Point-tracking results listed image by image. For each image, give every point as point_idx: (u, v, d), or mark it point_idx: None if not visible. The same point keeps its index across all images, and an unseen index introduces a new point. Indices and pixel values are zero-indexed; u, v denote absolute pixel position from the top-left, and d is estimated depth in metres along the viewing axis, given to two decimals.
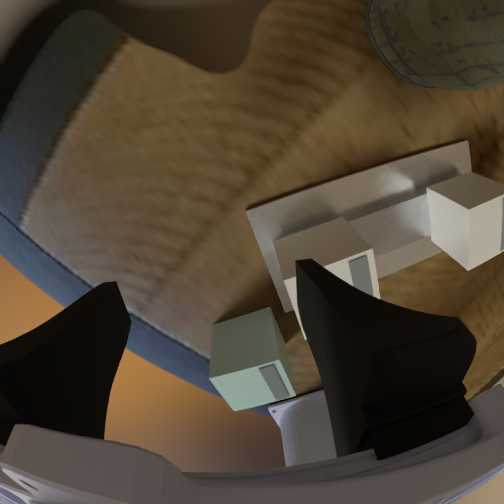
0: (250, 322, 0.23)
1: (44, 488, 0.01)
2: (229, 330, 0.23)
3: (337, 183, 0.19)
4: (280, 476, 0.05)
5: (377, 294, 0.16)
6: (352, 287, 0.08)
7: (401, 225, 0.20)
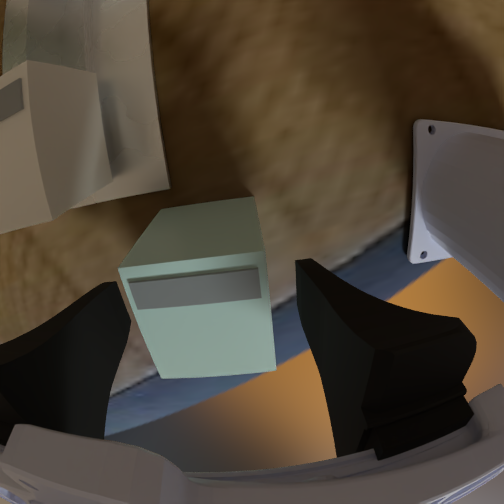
0: None
1: (44, 488, 0.01)
2: None
3: None
4: (280, 476, 0.05)
5: None
6: (352, 287, 0.08)
7: (52, 13, 0.08)
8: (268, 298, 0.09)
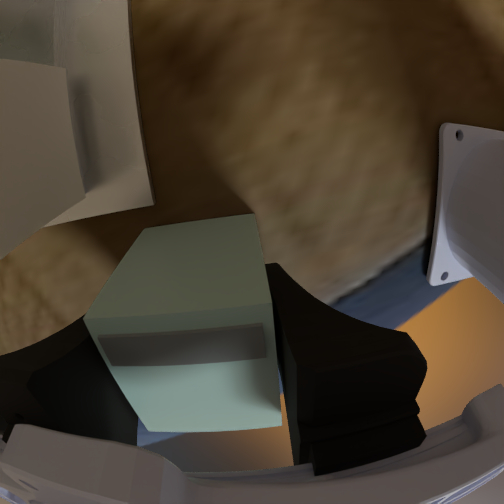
0: None
1: (44, 488, 0.01)
2: None
3: None
4: (279, 476, 0.05)
5: None
6: (307, 294, 0.08)
7: (22, 2, 0.05)
8: (275, 356, 0.07)
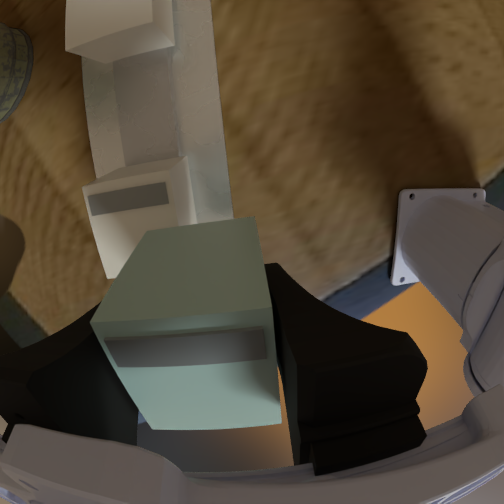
0: None
1: (44, 488, 0.01)
2: None
3: (96, 164, 0.17)
4: (280, 476, 0.05)
5: (139, 177, 0.12)
6: (307, 294, 0.08)
7: (141, 93, 0.15)
8: (274, 357, 0.07)
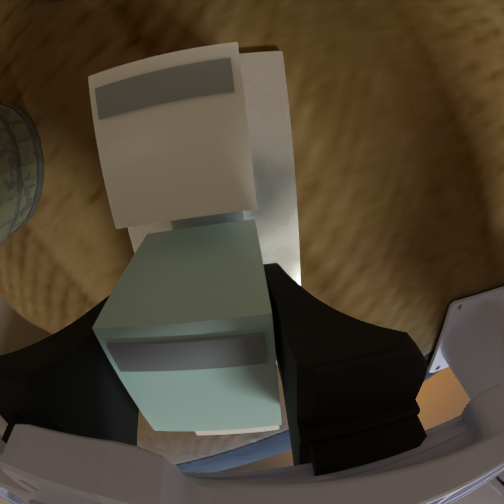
0: None
1: (44, 488, 0.01)
2: None
3: None
4: (280, 476, 0.05)
5: None
6: (307, 294, 0.08)
7: None
8: (274, 362, 0.07)
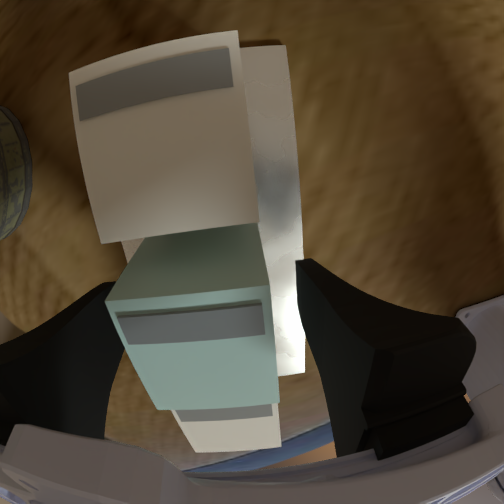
0: None
1: (44, 488, 0.01)
2: None
3: None
4: (279, 476, 0.05)
5: None
6: (352, 287, 0.08)
7: None
8: (272, 334, 0.08)
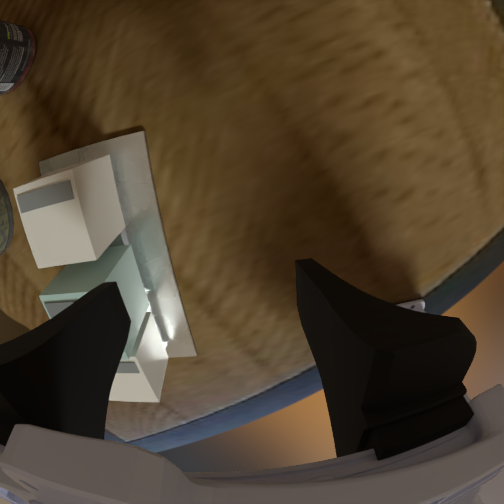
0: None
1: (44, 488, 0.01)
2: None
3: None
4: (280, 476, 0.05)
5: None
6: (352, 287, 0.08)
7: None
8: None
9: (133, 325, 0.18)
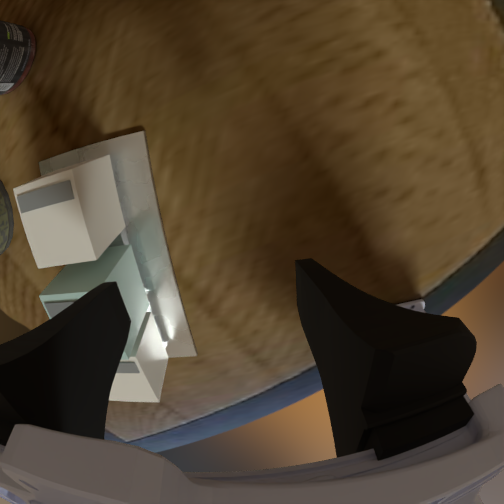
0: None
1: (44, 488, 0.01)
2: None
3: None
4: (280, 476, 0.05)
5: None
6: (352, 287, 0.08)
7: None
8: None
9: (133, 325, 0.18)
